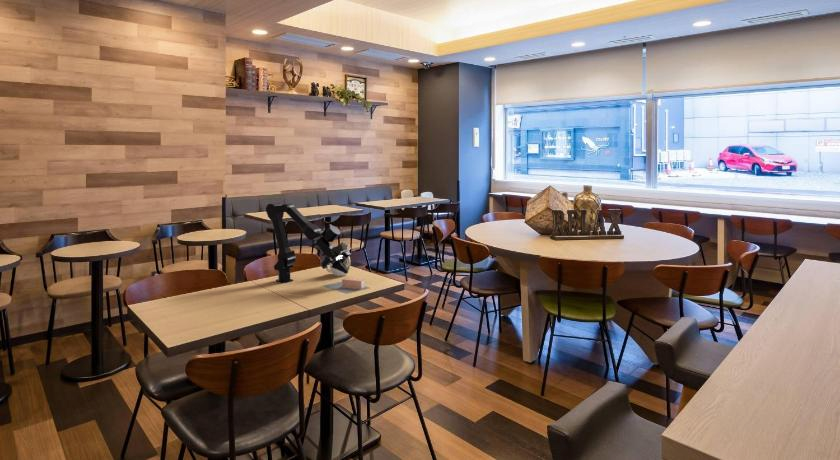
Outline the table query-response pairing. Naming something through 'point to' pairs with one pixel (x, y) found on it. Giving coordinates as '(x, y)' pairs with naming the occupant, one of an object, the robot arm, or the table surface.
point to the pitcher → (338, 272)
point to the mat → (338, 287)
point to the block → (353, 283)
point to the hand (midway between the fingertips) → (347, 272)
